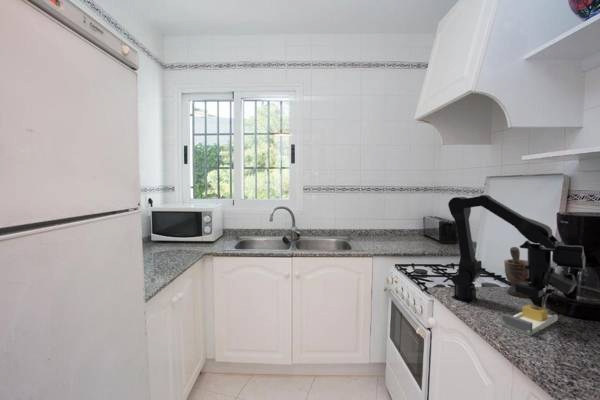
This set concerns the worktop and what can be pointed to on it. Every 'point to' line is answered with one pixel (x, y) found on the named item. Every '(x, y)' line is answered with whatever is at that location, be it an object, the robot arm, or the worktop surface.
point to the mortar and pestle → (515, 271)
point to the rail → (527, 323)
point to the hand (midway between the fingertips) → (539, 310)
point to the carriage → (535, 312)
